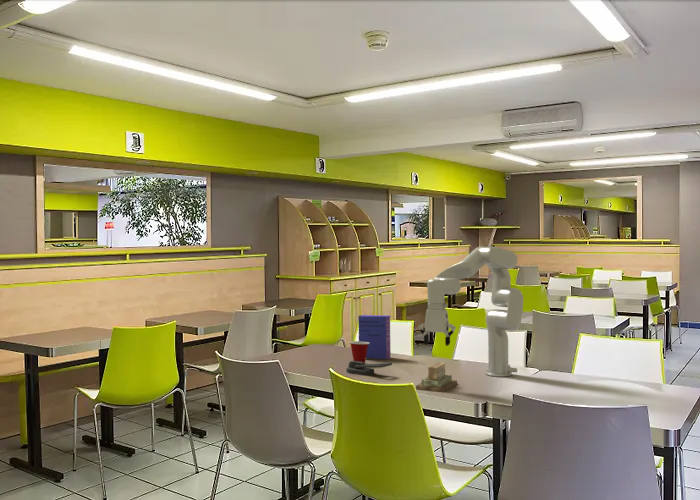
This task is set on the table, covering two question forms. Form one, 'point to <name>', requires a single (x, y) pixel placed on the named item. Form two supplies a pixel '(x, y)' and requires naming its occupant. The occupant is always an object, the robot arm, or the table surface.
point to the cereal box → (375, 335)
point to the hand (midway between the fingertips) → (437, 344)
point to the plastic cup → (359, 350)
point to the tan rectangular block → (436, 372)
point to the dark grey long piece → (363, 367)
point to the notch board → (437, 384)
